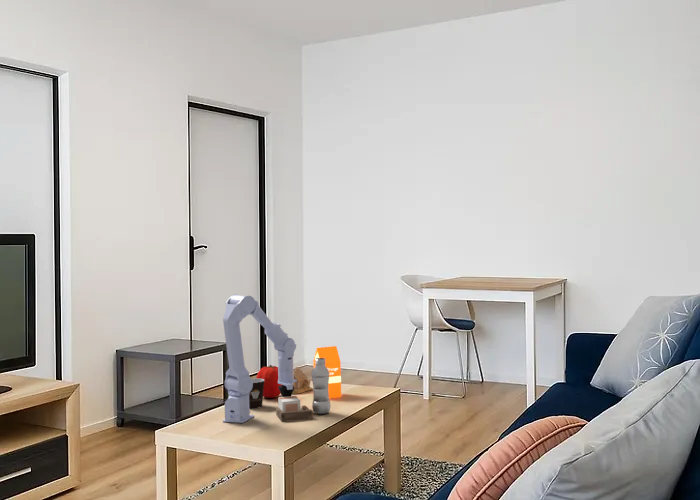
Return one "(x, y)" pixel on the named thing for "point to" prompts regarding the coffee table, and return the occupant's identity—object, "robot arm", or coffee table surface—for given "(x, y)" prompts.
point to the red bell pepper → (270, 381)
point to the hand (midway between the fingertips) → (286, 405)
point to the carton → (289, 403)
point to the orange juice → (331, 369)
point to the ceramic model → (300, 382)
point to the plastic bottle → (320, 387)
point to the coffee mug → (256, 393)
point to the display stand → (294, 414)
